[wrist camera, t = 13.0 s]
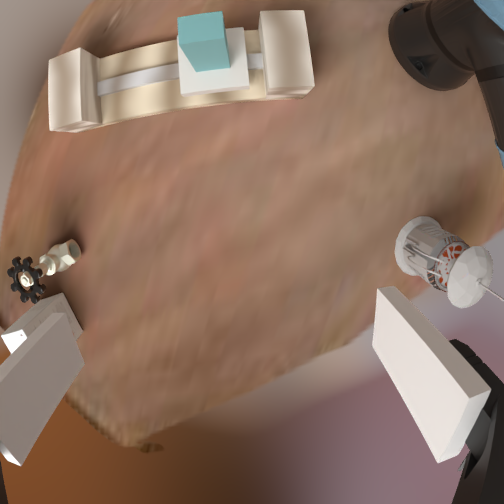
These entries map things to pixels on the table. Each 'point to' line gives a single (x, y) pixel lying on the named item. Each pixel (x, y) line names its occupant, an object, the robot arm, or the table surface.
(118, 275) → the table surface
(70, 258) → the valve
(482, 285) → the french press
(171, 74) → the rail board
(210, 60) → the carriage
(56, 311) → the small box
